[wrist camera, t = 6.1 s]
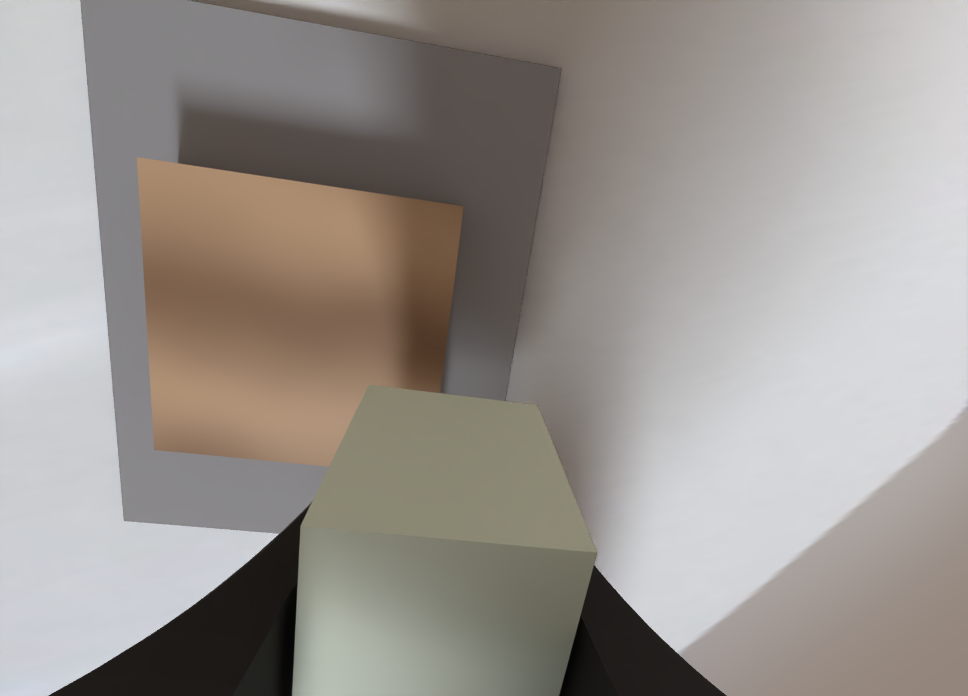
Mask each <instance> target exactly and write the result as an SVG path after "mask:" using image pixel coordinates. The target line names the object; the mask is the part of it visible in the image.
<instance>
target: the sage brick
mask: <svg viewBox="0 0 968 696" xmlns="http://www.w3.org/2000/svg"><path fill="white" fill-rule="evenodd" d="M596 555H597V551H596V548H595V546H594V544H593V541H592V539H591V536H590V534H589V531H588V529H587V526H586V524H585V521H584V519H583V516H582V514H581V511H580V509H579V506H578V504H577V501H576V499H575V496H574V494H573V491H572V489H571V486H570V484H569V482H568V479H567V477H566V474H565V472H564V469H563V467H562V464H561V462H560V459H559V457H558V454H557V452H556V449H555V447H554V444H553V442H552V439H551V437H550V434H549V432H548V429H547V427H546V424H545V422H544V420H543V417H542V415H541V412H540V410H539V407H538V405H534V404H526V403H517V402H509V401H501V400H492V399H484V398H476V397H467V396H459V395H451V394H443V393H434V392H426V391H418V390H409V389H401V388H393V387H384V386H376V385H368V387H367V389H366V391H365V393H364V396H363V398H362V400H361V402H360V404H359V406H358V408H357V410H356V412H355V414H354V416H353V418H352V420H351V422H350V425H349V427H348V429H347V431H346V433H345V435H344V437H343V439H342V441H341V443H340V445H339V447H338V449H337V451H336V453H335V456H334V458H333V460H332V462H331V464H330V466H329V468H328V470H327V472H326V474H325V476H324V478H323V480H322V482H321V485H320V487H319V489H318V491H317V493H316V495H315V497H314V499H313V501H312V503H311V505H310V507H309V509H308V511H307V514H306V516H305V518H304V520H303V522H302V524H301V527H300V547H299V567H298V587H297V606H296V626H295V646H294V666H293V686H292V696H559V694H560V690H561V687H562V683H563V679H564V675H565V672H566V668H567V664H568V660H569V657H570V653H571V649H572V645H573V642H574V638H575V634H576V630H577V627H578V623H579V619H580V615H581V612H582V608H583V604H584V600H585V596H586V593H587V589H588V585H589V581H590V578H591V574H592V570H593V566H594V563H595V559H596Z"/></svg>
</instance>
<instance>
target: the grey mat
mask: <svg viewBox="0 0 968 696" xmlns="http://www.w3.org/2000/svg"><path fill="white" fill-rule="evenodd" d="M80 1H81V13H82V25H83V37H84V49H85V61H86V73H87V85H88V97H89V109H90V121H91V133H92V145H93V156H94V168H95V180H96V192H97V204H98V216H99V228H100V240H101V252H102V264H103V276H104V288H105V300H106V312H107V324H108V336H109V348H110V360H111V372H112V384H113V396H114V408H115V420H116V432H117V444H118V456H119V468H120V480H121V492H122V504H123V516H124V521H132V522H144V523H156V524H169V525H181V526H193V527H206V528H218V529H230V530H243V531H255V532H267V533H279V534H280V533H281V532H282V531H283V530H284V529H285V528H286V527H287V526H288V525H289V524H290V523H291V522H292V521H293V520H294V519H295V518H296V517H297V516H298V515H299V514H300V513H301V512H302V511H303V510H304V509H305V508H306V507H307V506H308V505H309V504H310V503H311V502H312V501H313V499H314V497H315V495H316V493H317V491H318V489H319V487H320V485H321V482H322V480H323V478H324V476H325V474H326V472H327V470H328V468H329V467H327V466H317V465H306V464H296V463H285V462H275V461H264V460H254V459H243V458H233V457H222V456H212V455H201V454H191V453H180V452H170V451H159V450H154V439H153V423H152V406H151V389H150V372H149V355H148V338H147V322H146V305H145V288H144V271H143V254H142V237H141V220H140V204H139V187H138V170H137V157H139V158H146V159H152V160H159V161H166V162H172V163H179V164H186V165H192V166H199V167H206V168H212V169H219V170H226V171H232V172H239V173H246V174H252V175H259V176H266V177H272V178H279V179H285V180H292V181H299V182H305V183H312V184H319V185H325V186H332V187H339V188H345V189H352V190H359V191H365V192H372V193H378V194H385V195H392V196H398V197H405V198H412V199H418V200H425V201H432V202H438V203H445V204H451V205H458V206H464V208H463V216H462V223H461V231H460V239H459V247H458V255H457V263H456V271H455V279H454V287H453V294H452V302H451V310H450V318H449V326H448V334H447V342H446V350H445V358H444V365H443V373H442V381H441V389H440V393H443V394H451V395H459V396H467V397H476V398H484V399H492V400H501V401H505V400H506V394H507V388H508V382H509V376H510V370H511V364H512V358H513V352H514V347H515V341H516V335H517V329H518V323H519V317H520V311H521V305H522V299H523V293H524V288H525V282H526V276H527V270H528V264H529V258H530V252H531V246H532V240H533V234H534V229H535V223H536V217H537V211H538V205H539V199H540V193H541V187H542V181H543V176H544V170H545V164H546V158H547V152H548V146H549V140H550V134H551V128H552V122H553V117H554V111H555V105H556V99H557V93H558V87H559V81H560V75H561V69H562V68H557V67H552V66H547V65H541V64H536V63H530V62H525V61H519V60H514V59H508V58H503V57H497V56H492V55H486V54H481V53H475V52H470V51H464V50H459V49H453V48H448V47H442V46H437V45H431V44H426V43H420V42H415V41H409V40H404V39H398V38H393V37H387V36H382V35H376V34H371V33H365V32H360V31H354V30H349V29H343V28H338V27H332V26H327V25H321V24H316V23H310V22H305V21H299V20H294V19H289V18H283V17H278V16H272V15H267V14H261V13H256V12H250V11H245V10H239V9H234V8H228V7H223V6H217V5H212V4H206V3H201V2H195V1H190V0H80Z"/></svg>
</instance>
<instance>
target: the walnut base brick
mask: <svg viewBox="0 0 968 696" xmlns="http://www.w3.org/2000/svg"><path fill="white" fill-rule="evenodd" d="M137 170H138V187H139V204H140V220H141V237H142V254H143V271H144V288H145V305H146V322H147V338H148V355H149V372H150V389H151V406H152V423H153V439H154V450H159V451H170V452H180V453H191V454H201V455H212V456H222V457H233V458H243V459H254V460H264V461H275V462H285V463H296V464H306V465H317V466H327V467H329V466H330V464H331V462H332V460H333V458H334V456H335V453H336V451H337V449H338V447H339V445H340V443H341V441H342V439H343V437H344V435H345V433H346V431H347V429H348V427H349V425H350V422H351V420H352V418H353V416H354V414H355V412H356V410H357V408H358V406H359V404H360V402H361V400H362V398H363V396H364V393H365V391H366V389H367V387H368V385H376V386H384V387H393V388H401V389H409V390H418V391H426V392H434V393H440V389H441V381H442V373H443V365H444V358H445V350H446V342H447V334H448V326H449V318H450V310H451V302H452V294H453V287H454V279H455V271H456V263H457V255H458V247H459V239H460V231H461V223H462V216H463V208H464V206H458V205H451V204H445V203H438V202H432V201H425V200H418V199H412V198H405V197H398V196H392V195H385V194H378V193H372V192H365V191H359V190H352V189H345V188H339V187H332V186H325V185H319V184H312V183H305V182H299V181H292V180H285V179H279V178H272V177H266V176H259V175H252V174H246V173H239V172H232V171H226V170H219V169H212V168H206V167H199V166H192V165H186V164H179V163H172V162H166V161H159V160H152V159H146V158H139V157H137Z"/></svg>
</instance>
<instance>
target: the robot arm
mask: <svg viewBox="0 0 968 696" xmlns="http://www.w3.org/2000/svg"><path fill="white" fill-rule="evenodd" d="M311 503H312V502H311ZM311 503H310V504H309V505H308V506H307V507H306V508H305V509H304V510H303V511H302V512H301V513H300V514H299V515H298V516H297V517H296V518H295V519H294V520H293V521H292V522H291V523H290V524H289V525H288V526H287V527H286V528H285V529H284V530H283V531H282V532H281V533H280V534H279V535H278V536H276V537H275V538H274V539H273V540H272V541H271V542H270V543H269V544H268V545H267V546H265V547H264V548H263V549H262V550H261V551H260V552H259V553H258V554H257V555H255V556H254V557H253V558H252V559H251V560H250V561H249V562H247V563H246V564H245V565H244V566H242V567H241V568H240V569H239V570H238V571H236V572H235V573H234V574H233V575H231V576H230V577H229V578H228V579H227V580H225V581H224V582H223V583H222V584H220V585H219V586H218V587H217V588H215V589H214V590H213V591H212V592H210V593H209V594H208V595H206V596H205V597H204V598H202V599H201V600H200V601H198V602H197V603H196V604H194V605H193V606H192V607H190V608H189V609H188V610H186V611H185V612H183V613H182V614H180V615H179V616H178V617H176V618H175V619H173V620H172V621H170V622H169V623H168V624H166V625H165V626H163V627H162V628H160V629H159V630H157V631H156V632H154V633H153V634H151V635H150V636H148V637H146V638H145V639H143V640H142V641H140V642H139V643H137V644H135V645H134V646H132V647H131V648H129V649H127V650H126V651H124V652H122V653H121V654H119V655H118V656H116V657H114V658H113V659H111V660H110V661H108V662H106V663H105V664H103V665H101V666H100V667H98V668H97V669H95V670H93V671H91V672H90V673H88V674H86V675H84V676H83V677H81V678H79V679H77V680H76V681H74V682H72V683H70V684H68V685H67V686H65V687H63V688H61V689H60V690H58V691H56V692H54V693H52V694H51V695H49V696H292V686H293V666H294V646H295V626H296V606H297V587H298V567H299V547H300V527H301V524H302V522H303V520H304V518H305V516H306V514H307V511H308V509H309V507H310V505H311ZM559 696H726V695H725V694H724V693H722V692H721V691H720V690H719V689H718V688H716V687H715V686H714V685H713V684H711V683H710V682H709V681H708V680H707V679H705V678H704V677H703V676H702V675H701V674H700V673H699V672H697V671H696V670H695V669H694V668H693V667H692V666H691V665H689V664H688V663H687V662H686V661H685V660H684V659H683V658H682V657H681V656H680V655H679V654H678V653H677V652H675V651H674V650H673V649H672V648H671V647H670V646H669V645H668V644H667V643H666V642H665V641H664V640H663V639H661V638H660V637H659V636H658V635H657V634H656V633H655V632H654V631H653V630H652V629H651V628H650V627H649V626H648V625H647V624H646V623H645V622H644V621H643V619H642V618H641V617H640V616H639V615H638V614H637V613H636V612H635V611H634V610H633V609H632V608H631V607H630V606H629V605H628V604H627V602H626V601H625V600H624V599H623V598H622V597H621V596H620V595H619V594H618V592H617V591H616V590H615V589H614V588H613V587H612V586H611V585H610V583H609V582H608V581H607V580H606V579H605V578H604V576H603V575H602V574H601V573H600V572H599V570H598V569H597V568H596V567H595V566H593V570H592V574H591V578H590V581H589V585H588V589H587V593H586V596H585V600H584V604H583V608H582V612H581V615H580V619H579V623H578V627H577V630H576V634H575V638H574V642H573V645H572V649H571V653H570V657H569V660H568V664H567V668H566V672H565V675H564V679H563V683H562V687H561V690H560V694H559Z"/></svg>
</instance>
